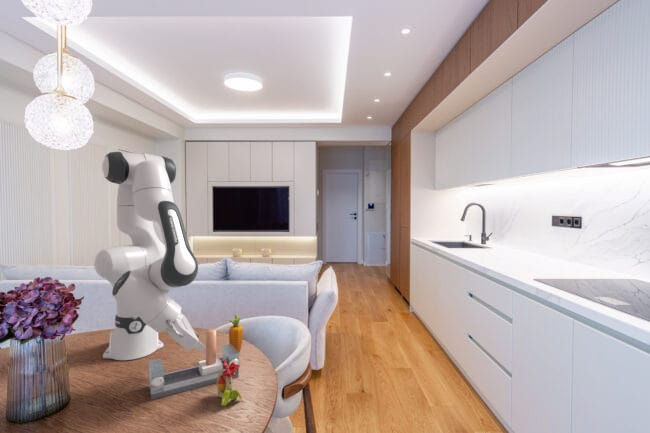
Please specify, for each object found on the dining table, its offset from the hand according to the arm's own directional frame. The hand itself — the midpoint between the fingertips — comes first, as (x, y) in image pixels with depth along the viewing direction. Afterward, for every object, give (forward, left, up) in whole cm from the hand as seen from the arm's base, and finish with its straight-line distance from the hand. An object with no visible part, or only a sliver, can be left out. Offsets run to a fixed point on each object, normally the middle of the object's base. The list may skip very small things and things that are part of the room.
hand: (200, 342), depth 97 cm
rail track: (0, -1, -11) cm, 11 cm away
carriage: (0, +3, -10) cm, 10 cm away
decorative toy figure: (+15, +4, -12) cm, 19 cm away
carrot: (-9, +14, -12) cm, 20 cm away
